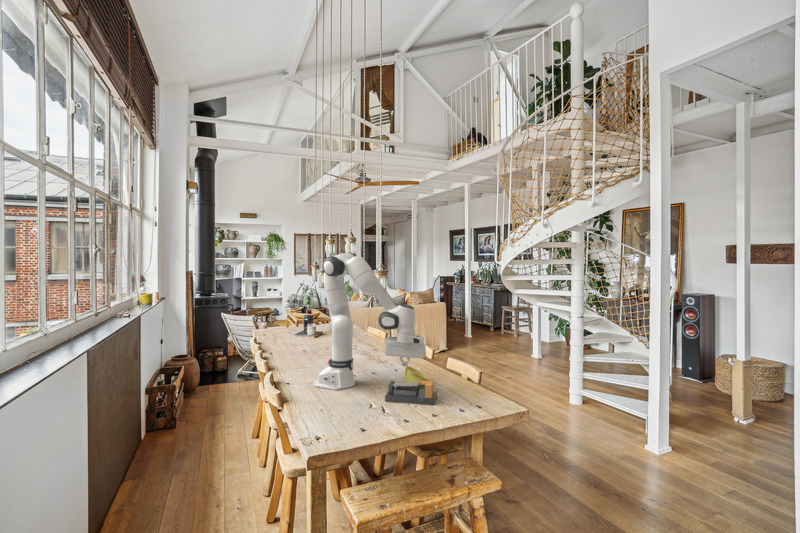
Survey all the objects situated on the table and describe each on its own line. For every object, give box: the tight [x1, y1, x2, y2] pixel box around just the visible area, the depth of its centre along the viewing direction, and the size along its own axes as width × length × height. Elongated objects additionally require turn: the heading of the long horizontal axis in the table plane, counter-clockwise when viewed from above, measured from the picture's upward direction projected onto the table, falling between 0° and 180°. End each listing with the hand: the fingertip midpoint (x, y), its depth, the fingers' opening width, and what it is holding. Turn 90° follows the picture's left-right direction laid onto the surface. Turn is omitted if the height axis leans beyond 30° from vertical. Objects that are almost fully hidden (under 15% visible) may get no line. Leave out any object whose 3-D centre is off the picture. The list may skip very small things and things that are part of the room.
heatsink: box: [384, 380, 438, 406], centre depth 192 cm, size 24×11×8 cm, turn 78°
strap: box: [391, 382, 418, 387], centre depth 193 cm, size 14×2×1 cm, turn 78°
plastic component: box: [403, 365, 431, 387], centre depth 217 cm, size 20×7×10 cm
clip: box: [420, 378, 435, 398], centre depth 191 cm, size 6×10×6 cm, turn 168°
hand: (404, 365), depth 193 cm, fingers closed
